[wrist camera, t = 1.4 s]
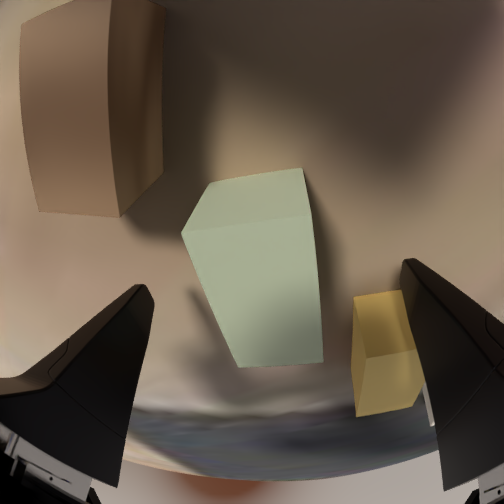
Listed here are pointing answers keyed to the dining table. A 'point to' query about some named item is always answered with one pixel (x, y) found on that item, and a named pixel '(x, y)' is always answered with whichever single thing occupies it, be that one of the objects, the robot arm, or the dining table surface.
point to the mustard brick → (383, 355)
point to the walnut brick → (93, 104)
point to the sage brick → (259, 267)
